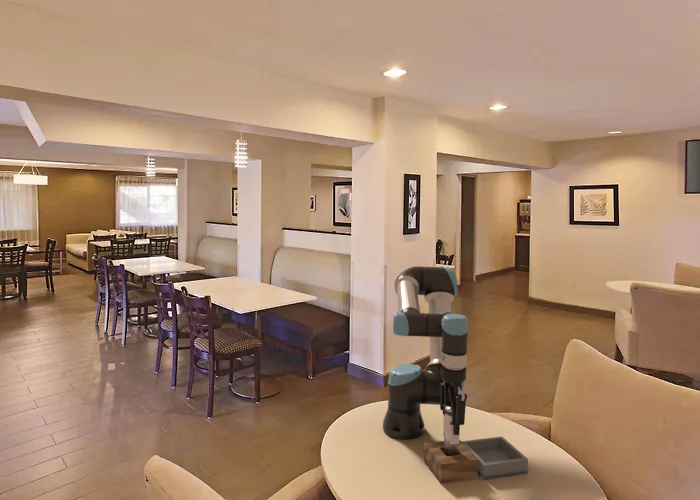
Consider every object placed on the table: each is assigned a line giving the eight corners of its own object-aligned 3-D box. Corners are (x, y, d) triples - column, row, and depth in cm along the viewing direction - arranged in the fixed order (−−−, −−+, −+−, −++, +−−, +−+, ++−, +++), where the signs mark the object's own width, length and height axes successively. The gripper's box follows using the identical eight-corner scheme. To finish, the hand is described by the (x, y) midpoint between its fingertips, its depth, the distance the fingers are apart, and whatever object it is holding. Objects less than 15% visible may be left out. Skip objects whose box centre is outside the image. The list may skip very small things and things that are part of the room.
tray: (460, 454, 145) (461, 441, 145) (501, 449, 149) (502, 436, 148) (483, 479, 132) (484, 465, 131) (527, 473, 135) (528, 459, 135)
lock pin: (440, 460, 138) (442, 404, 136) (452, 458, 139) (454, 403, 137) (446, 467, 134) (448, 410, 132) (459, 465, 135) (461, 409, 133)
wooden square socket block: (423, 461, 141) (424, 443, 140) (458, 456, 144) (458, 439, 143) (440, 483, 129) (441, 464, 129) (477, 478, 132) (478, 459, 132)
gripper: (430, 357, 141) (428, 427, 143) (455, 377, 124) (452, 456, 127) (451, 355, 143) (449, 424, 145) (479, 375, 126) (476, 453, 129)
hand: (450, 439), depth 136 cm, fingers closed on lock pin, 4 cm apart
